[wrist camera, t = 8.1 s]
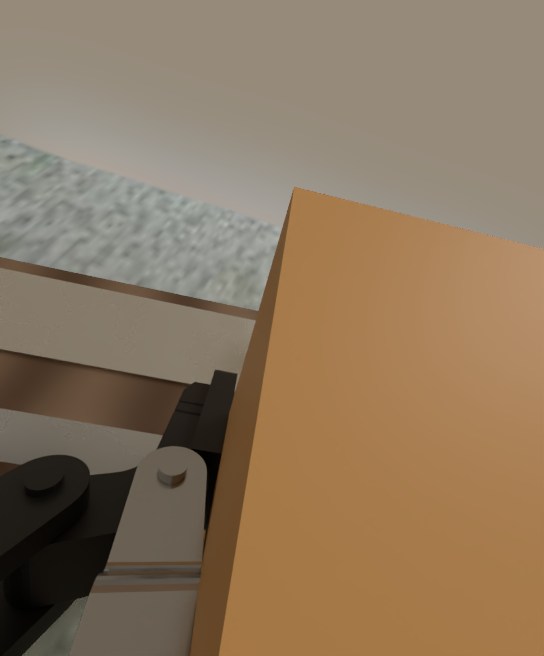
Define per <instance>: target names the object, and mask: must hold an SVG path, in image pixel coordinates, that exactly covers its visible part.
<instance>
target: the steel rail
mask: <svg viewBox="0 0 544 656" xmlns="http://www.w3.org/2000/svg"><path fill="white" fill-rule="evenodd" d="M162 436H163V435H157V434H151V433H145V432H139V431H133V430H127V429H121V428H115V427H109V426H103V425H97V424H91V423H85V422H79V421H73V420H67V419H61V418H56V417H50V416H44V415H38V414H32V413H26V412H20V411H14V410H8V409H2V408H0V461H1V462H7V463H14V464H20V465H22V464H24V463H26V462H28V461H30V460H33V459H36V458H40V457H43V456H49V455H69V456H73V457H76V458H78V459H80V460H82V461H83V462H84V463H85V464H86V465H87V466H88V468H89V471H90V475H95V474H105V473H114V472H121V471H125V470H129V469H132V468H134V467H137V466H138V465H139V463H140V462H141V460H142V459H143V458H144V457H145V456H146V455H148V454H149V453H151V452H152V451H154V450H156V449H157V447H158V445H159V443H160V441H161V439H162Z"/></svg>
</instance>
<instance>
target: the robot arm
mask: <svg viewBox="0 0 544 656" xmlns="http://www.w3.org/2000/svg"><path fill="white" fill-rule="evenodd" d="M236 380H237V373H232V372H226V371H221V370H216V369H215V371H214V374H213V377H212V381H211V384H204V383H199V382H194V383H192V384H191V385H190V386H188V387H187V388H185V389H184V390H183V393H182V395H181V397H180V399H179V402H178V404H177V406H176V408H175V411H174V412H173V414H172V417H171V419H170V421H169V423H168V425H167V428H166V430H165V432H164V434H163V436H162V439H161V441H160V443H159V445H158V447H157V449H156V450H154V451H152V452H151V453H149V454H148V455H146V456H145V457H144V458H143V459H142V460H141V462H140V463H139V465H138V466H137V467H134V468H132V469H129V470H125V471H121V472H114V473H105V474H95V475H90V471H89V468H88V466H87V465H86V464H85V463H84V462H83V461H82V460H80V459H78V458H76V457H73V456H69V455H49V456H43V457H40V458H36V459H33V460H30V461H28V462H26V463H24V464H22V465H20V466H18V467H16V468H14V469H12V470H10V471H9V472H7V473H5V474H3V475H1V476H0V656H22V655H23V654H24V653H25V652H26V651H27V650H28V649H29V647H30V646H31V645H32V644H33V643H34V642H35V641H36V640H37V639H38V638H39V637H40V636H41V635H42V634H43V633H44V632H45V631H46V630H47V629H48V628H49V627H50V626H51V625H52V624H53V623H54V622H55V621H56V620H57V619H58V618H59V617H60V616H61V615H62V614H63V613H64V612H65V611H66V610H67V609H68V608H69V606H70V605H71V604H72V603H73V602H74V601H75V600H76V599H77V598H81V597H85V596H89V597H88V600H87V603H86V606H85V609H84V612H83V615H82V618H81V621H80V624H79V627H78V630H77V633H76V636H75V639H74V642H73V645H72V648H71V651H70V654H69V656H190V653H191V645H192V637H193V629H194V621H195V612H196V604H197V596H198V588H199V583H200V576H201V567H202V556H203V537H204V530H206V526H207V521H208V517H209V512H210V507H211V502H212V498H213V493H214V488H215V484H216V479H217V474H218V470H219V465H220V460H221V455H222V450H223V445H224V439H225V434H226V428H227V423H228V417H229V412H230V409H231V405H232V402H233V397H234V391H235V386H236Z"/></svg>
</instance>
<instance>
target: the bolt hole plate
mask: <svg viewBox="0 0 544 656" xmlns="http://www.w3.org/2000/svg"><path fill="white" fill-rule="evenodd" d="M255 322H256V321H255V320H251V319H246V318H241V317H236V316H231V315H226V314H221V313H217V312H212V311H207V310H202V309H197V308H192V307H188V306H183V305H178V304H173V303H168V302H163V301H158V300H154V299H149V298H144V297H139V296H134V295H129V294H125V293H120V292H115V291H110V290H105V289H100V288H95V287H91V286H86V285H81V284H76V283H71V282H66V281H62V280H57V279H52V278H47V277H42V276H37V275H32V274H28V273H23V272H18V271H13V270H8V269H3V268H0V350H2V351H7V352H13V353H18V354H23V355H29V356H34V357H40V358H45V359H51V360H56V361H62V362H67V363H72V364H78V365H83V366H89V367H94V368H100V369H105V370H111V371H116V372H122V373H127V374H132V375H138V376H143V377H149V378H154V379H160V380H165V381H171V382H176V383H181V384H187V385H191V384H192V383H194V382H199V383H204V384H211V381H212V377H213V374H214V371H215V369H216V370H221V371H226V372H232V373H237V380H236V386H235V391H236V388H237V384H238V381H239V377H240V374H241V370H242V367H243V363H244V360H245V357H246V353H247V350H248V346H249V343H250V339H251V336H252V332H253V329H254V325H255ZM235 391H234V393H235Z"/></svg>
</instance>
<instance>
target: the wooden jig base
mask: <svg viewBox="0 0 544 656" xmlns="http://www.w3.org/2000/svg"><path fill="white" fill-rule="evenodd" d="M0 268H3V269H8V270H13V271H18V272H23V273H28V274H32V275H37V276H42V277H47V278H52V279H57V280H62V281H66V282H71V283H76V284H81V285H86V286H91V287H95V288H100V289H105V290H110V291H115V292H120V293H125V294H129V295H134V296H139V297H144V298H149V299H154V300H158V301H163V302H168V303H173V304H178V305H183V306H188V307H192V308H197V309H202V310H207V311H212V312H217V313H221V314H226V315H231V316H236V317H241V318H246V319H251V320H255V321H256V318H257V315H258V311H254V310H250V309H245V308H240V307H235V306H231V305H226V304H221V303H216V302H211V301H207V300H202V299H197V298H192V297H188V296H183V295H178V294H173V293H168V292H164V291H159V290H154V289H149V288H145V287H140V286H135V285H130V284H125V283H121V282H116V281H111V280H106V279H102V278H97V277H92V276H87V275H82V274H78V273H73V272H68V271H63V270H59V269H54V268H49V267H44V266H39V265H35V264H30V263H25V262H20V261H15V260H11V259H6V258H1V257H0ZM188 386H190V385H187V384H181V383H176V382H171V381H165V380H160V379H154V378H149V377H143V376H138V375H132V374H127V373H122V372H116V371H111V370H105V369H100V368H94V367H89V366H83V365H78V364H72V363H67V362H62V361H56V360H51V359H45V358H40V357H34V356H29V355H23V354H18V353H13V352H7V351H2V350H0V408H2V409H8V410H14V411H20V412H26V413H32V414H38V415H44V416H50V417H56V418H61V419H67V420H73V421H79V422H85V423H91V424H97V425H103V426H109V427H115V428H121V429H127V430H133V431H139V432H145V433H151V434H157V435H163V434H164V432H165V430H166V428H167V425H168V423H169V421H170V419H171V417H172V414H173V412H174V411H175V408H176V406H177V404H178V402H179V399H180V397H181V395H182V393H183V390H184V389H185V388H187V387H188ZM234 395H235V393H234ZM233 398H234V397H233ZM18 466H20V464H14V463H7V462H1V461H0V476H1V475H3V474H5V473H7V472H9V471H10V470H12V469H14V468H16V467H18ZM203 548H204V539H203Z"/></svg>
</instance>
